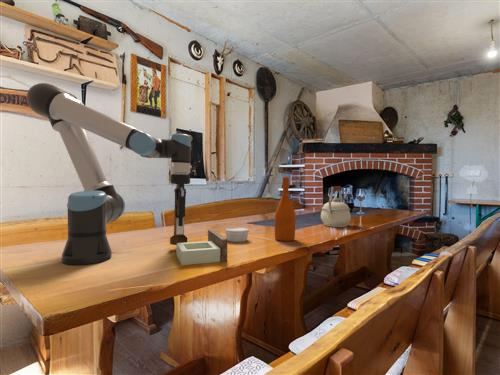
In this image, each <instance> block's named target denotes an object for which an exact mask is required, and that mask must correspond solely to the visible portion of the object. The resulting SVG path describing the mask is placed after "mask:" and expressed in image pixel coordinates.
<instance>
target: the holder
mask: <svg viewBox="0 0 500 375" xmlns="http://www.w3.org/2000/svg"><path fill="white" fill-rule="evenodd" d="M175 247H176V248H175V249H176V257H177V260H178V261H179V263H180V265H181V266H188V265H198V264H199V265H200V264H210V263H211V264H212V263H219V262H221V261H220V248H219V247H218V246H217V245H216V244H214V243H213V242H212V241H208V240H205V241H190V242H188V241H187V242H186V243H176V245H175Z"/></svg>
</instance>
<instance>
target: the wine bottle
mask: <svg viewBox="0 0 500 375" xmlns="http://www.w3.org/2000/svg"><path fill="white" fill-rule="evenodd" d="M281 186H282V194H281V198H280V200H279V203H278V206H277V207H276V210H275V214H274V239H275V240H276V241H280V242H292V241H294V240H295V237H296V213H295V209H294V205H293V203H292V201H291V198H290V193H289V189H290V188H289V187H290V177H289V176H283V177H282V184H281Z"/></svg>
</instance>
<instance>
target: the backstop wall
mask: <svg viewBox="0 0 500 375" xmlns="http://www.w3.org/2000/svg"><path fill="white" fill-rule="evenodd" d="M207 241H212V242H213V243H214V244H216V245H217V246H218V247H219V248H220V262H221V263H226V262H228V239H227V238H226V236H224V235H222V234H220V233H219V232H217V231H216V230H215V229H208V230H207Z"/></svg>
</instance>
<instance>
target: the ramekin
mask: <svg viewBox="0 0 500 375" xmlns="http://www.w3.org/2000/svg"><path fill="white" fill-rule="evenodd" d="M249 229H250V228H245V227H228V228H225V230H224V232H225V238H226V239H228V240H227V242H230V243H242V242H246V241H247V240H248V237H249V236H248V235H249V232H250V230H249Z"/></svg>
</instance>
